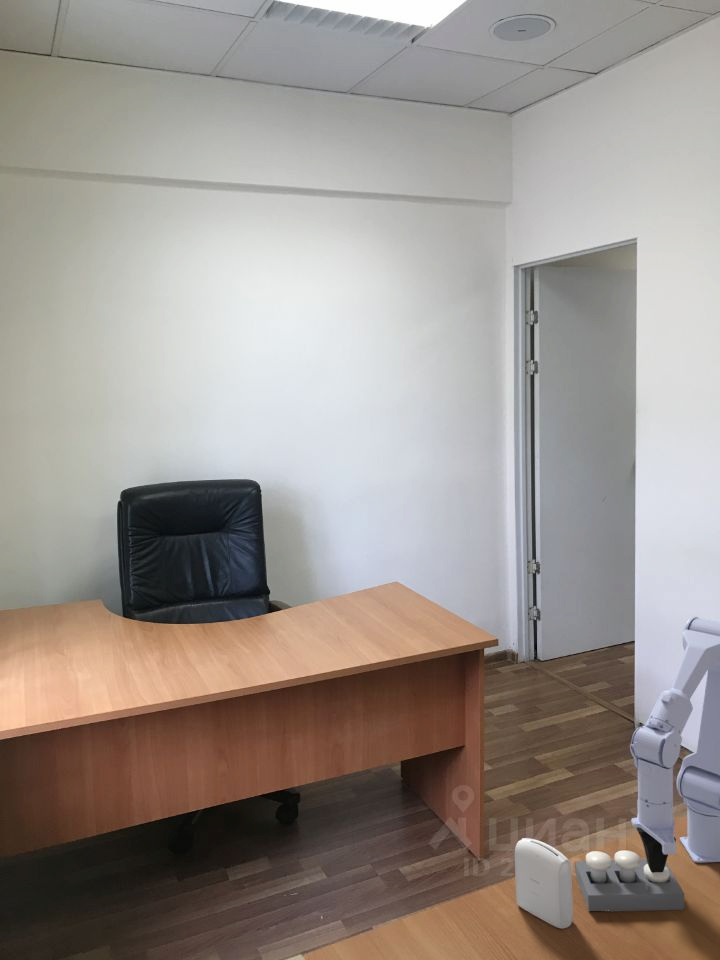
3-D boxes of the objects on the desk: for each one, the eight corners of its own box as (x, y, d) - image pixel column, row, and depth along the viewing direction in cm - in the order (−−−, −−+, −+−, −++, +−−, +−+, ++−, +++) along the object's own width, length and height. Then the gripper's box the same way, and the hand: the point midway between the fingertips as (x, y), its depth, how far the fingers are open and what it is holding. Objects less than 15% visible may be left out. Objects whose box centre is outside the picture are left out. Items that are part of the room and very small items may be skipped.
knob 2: (664, 883, 145) (664, 862, 144) (672, 898, 140) (672, 876, 140) (640, 883, 145) (640, 863, 144) (648, 898, 141) (647, 877, 140)
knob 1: (607, 871, 145) (607, 850, 144) (614, 885, 141) (613, 864, 140) (583, 872, 145) (583, 851, 144) (589, 886, 141) (589, 865, 140)
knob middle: (636, 870, 144) (635, 850, 144) (643, 885, 140) (643, 863, 140) (612, 871, 145) (611, 850, 144) (618, 885, 140) (618, 864, 140)
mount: (664, 874, 147) (664, 858, 147) (684, 909, 138) (684, 893, 137) (575, 876, 148) (574, 861, 148) (588, 912, 138) (588, 895, 138)
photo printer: (512, 905, 141) (510, 837, 140) (528, 894, 144) (526, 828, 142) (561, 933, 133) (559, 862, 132) (577, 922, 136) (575, 852, 134)
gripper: (620, 777, 148) (621, 847, 149) (645, 818, 134) (646, 896, 135) (659, 775, 148) (660, 846, 149) (688, 817, 133) (689, 895, 135)
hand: (656, 870), depth 142 cm, fingers closed, pressing on knob 2
